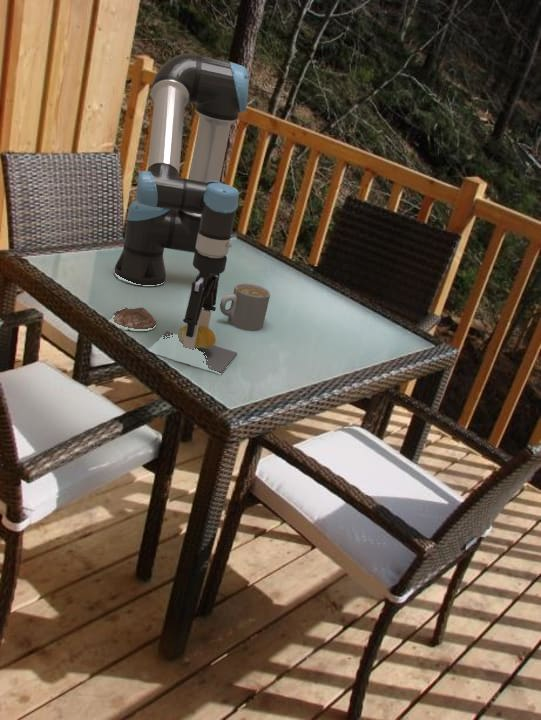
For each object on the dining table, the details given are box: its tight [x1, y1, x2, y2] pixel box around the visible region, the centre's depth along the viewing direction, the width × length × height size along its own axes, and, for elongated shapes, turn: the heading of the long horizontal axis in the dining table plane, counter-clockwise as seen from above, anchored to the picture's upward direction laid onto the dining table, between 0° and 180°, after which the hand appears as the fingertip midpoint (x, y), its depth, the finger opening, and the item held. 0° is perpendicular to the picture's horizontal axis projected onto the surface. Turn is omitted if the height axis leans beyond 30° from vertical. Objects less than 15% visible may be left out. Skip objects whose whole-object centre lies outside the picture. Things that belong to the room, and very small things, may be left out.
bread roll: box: [177, 325, 217, 348], centre depth 173 cm, size 8×9×4 cm
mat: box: [160, 330, 238, 373], centre depth 175 cm, size 19×13×1 cm
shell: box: [113, 307, 157, 329], centre depth 184 cm, size 12×13×4 cm
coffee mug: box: [219, 282, 271, 332], centre depth 198 cm, size 13×10×10 cm
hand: (195, 340), depth 174 cm, fingers closed on bread roll, 9 cm apart
